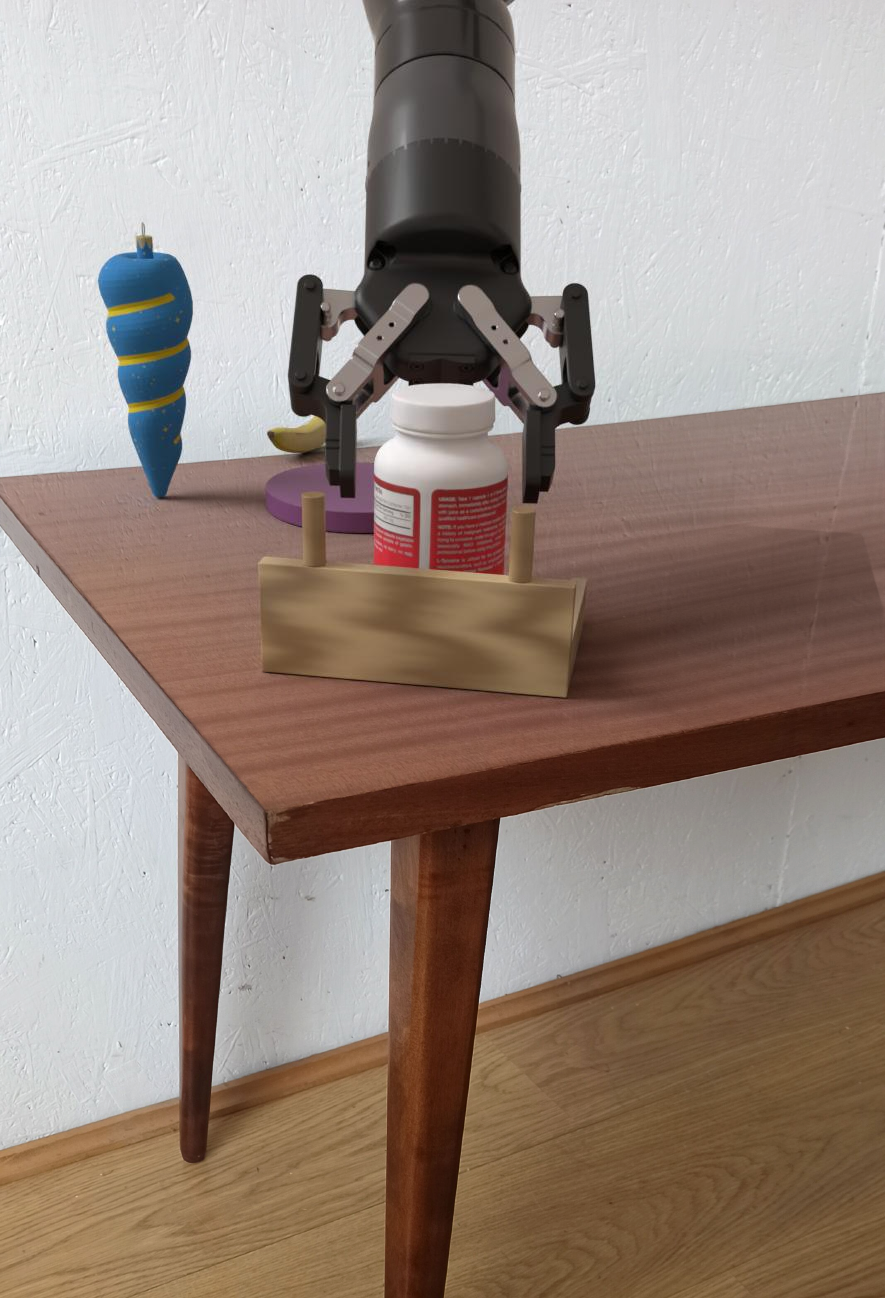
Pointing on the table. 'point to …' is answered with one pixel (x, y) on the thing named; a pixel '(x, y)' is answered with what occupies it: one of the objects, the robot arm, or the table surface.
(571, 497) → the table surface
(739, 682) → the table surface
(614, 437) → the table surface
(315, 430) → the banana
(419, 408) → the pill bottle
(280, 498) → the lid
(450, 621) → the rack
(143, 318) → the ornament
